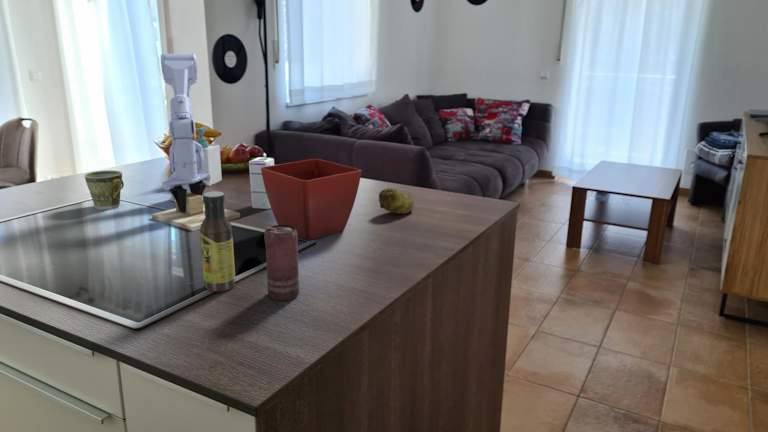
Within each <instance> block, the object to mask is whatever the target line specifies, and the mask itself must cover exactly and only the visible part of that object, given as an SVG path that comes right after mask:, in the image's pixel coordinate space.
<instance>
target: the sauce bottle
mask: <svg viewBox="0 0 768 432" xmlns="http://www.w3.org/2000/svg"><path fill="white" fill-rule="evenodd" d="M202 197H203V203H204V205H205V219H204V221H203V222H202V224H201V227H200V229H199V239H200V253H201V265H202V279H203V281H204V283H203V285H204V288H205V289H206V290H208V291H211V292H217V293H219V292H226V291H229V290H231V289H234V286H235V282H236V280H235V279H236V278H235V277H236V271H235V270H236V269H235V255H234V253H235V252H234V239H233V233H232V232H233V231H232V230H233V229H232V224H231V222H230V220H229V221H228V219H227V218H226V217H225V211H224V209H225V200H226V197H225V194H224V192H222V191H208V192H205V193H204V192H203V194H202Z"/></svg>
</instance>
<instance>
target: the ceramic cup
mask: <svg viewBox="0 0 768 432" xmlns="http://www.w3.org/2000/svg"><path fill="white" fill-rule="evenodd" d="M84 180H85V182H86V186H87V189H88V190H89V194H90V196H91V199H92V203H93V205H94V208H95V209H96V210H100V211H106V210H114V209H118V208H119V206H120V204H121V191H122V189H123V188H124V185H125V184H124V181H123V172H122V171H119V170H113V169H109V170H97V171H92V172H87V173H86V174H84Z"/></svg>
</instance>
